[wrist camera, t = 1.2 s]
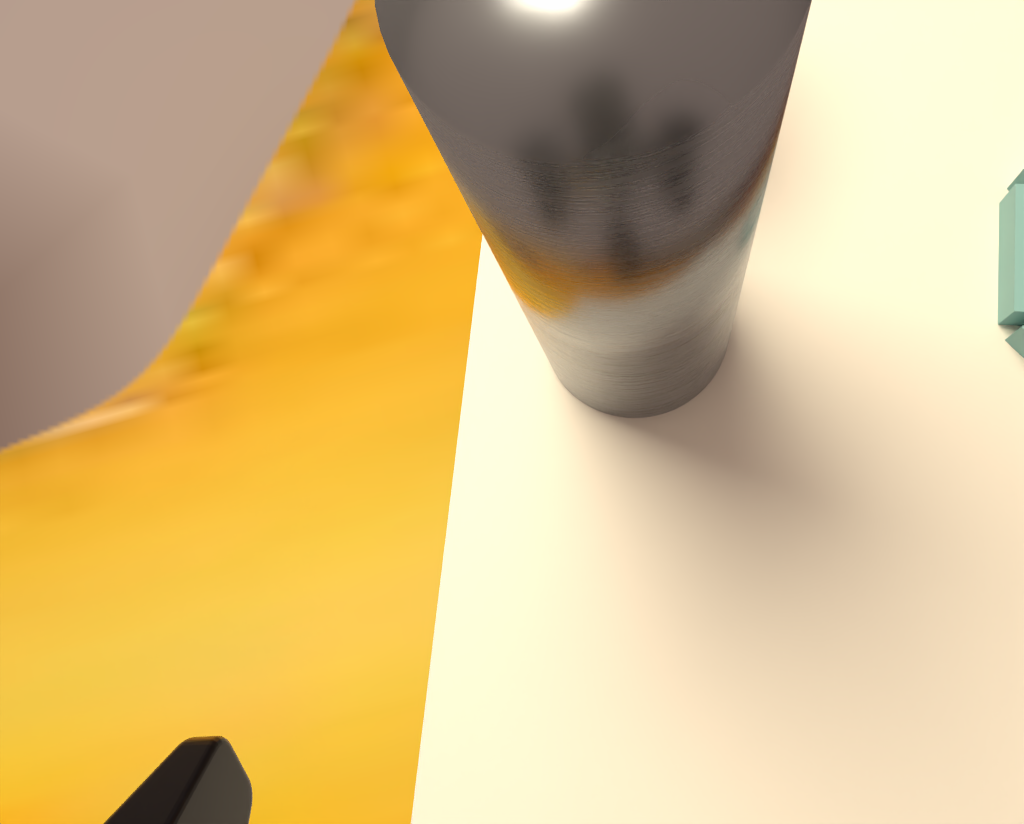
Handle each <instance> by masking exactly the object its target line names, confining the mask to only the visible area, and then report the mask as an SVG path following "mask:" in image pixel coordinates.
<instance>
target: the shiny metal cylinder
mask: <svg viewBox="0 0 1024 824" xmlns="http://www.w3.org/2000/svg"><path fill="white" fill-rule="evenodd" d="M811 2H812V0H375V8H376V12H377V17H378V22H379V27H380V31H381V34H382V36H383V39H384V42H385V44H386V47H387V50H388V53H389V55H390V57H391V59H392V61H393V62H394V64H395V66H396V68H397V70H398V72H399V74H400V76H401V78H402V80H403V82H404V84H405V86H406V87H407V89H408V91H409V93H410V95H411V97H412V99H413V101H414V103H415V105H416V107H417V109H418V111H419V112H420V114H421V116H422V118H423V120H424V122H425V124H426V126H427V128H428V130H429V132H430V134H431V136H432V138H433V139H434V141H435V143H436V145H437V147H438V149H439V151H440V153H441V155H442V157H443V159H444V161H445V163H446V164H447V166H448V168H449V170H450V172H451V174H452V176H453V178H454V180H455V182H456V184H457V186H458V188H459V189H460V191H461V193H462V195H463V197H464V199H465V201H466V203H467V205H468V207H469V209H470V211H471V213H472V214H473V216H474V218H475V220H476V222H477V224H478V226H479V228H480V230H481V232H482V234H483V236H484V238H485V239H486V241H487V243H488V245H489V247H490V249H491V251H492V253H493V255H494V257H495V259H496V261H497V263H498V264H499V266H500V268H501V270H502V272H503V274H504V276H505V278H506V280H507V282H508V284H509V286H510V288H511V289H512V291H513V293H514V295H515V297H516V299H517V301H518V303H519V305H520V307H521V309H522V311H523V313H524V314H525V316H526V318H527V320H528V322H529V324H530V326H531V328H532V330H533V332H534V334H535V336H536V338H537V340H538V341H539V343H540V345H541V347H542V349H543V351H544V353H545V355H546V357H547V359H548V361H549V363H550V365H551V366H552V368H553V370H554V372H555V374H556V376H557V377H558V379H559V380H560V381H561V383H562V384H563V385H564V387H565V388H566V389H567V390H568V391H569V392H570V393H571V394H572V395H573V396H575V397H576V398H577V399H579V400H580V401H581V402H583V403H584V404H586V405H588V406H589V407H591V408H593V409H595V410H598V411H600V412H603V413H606V414H609V415H613V416H618V417H625V418H643V417H652V416H656V415H660V414H664V413H667V412H669V411H672V410H675V409H677V408H679V407H680V406H682V405H684V404H686V403H688V402H689V401H690V400H692V399H693V398H694V397H696V396H697V395H698V394H699V393H700V392H701V391H702V390H703V389H705V388H706V386H707V385H708V384H709V383H710V381H711V380H712V379H713V378H714V376H715V375H716V373H717V371H718V370H719V368H720V366H721V364H722V361H723V359H724V357H725V354H726V350H727V347H728V343H729V339H730V335H731V330H732V326H733V322H734V318H735V314H736V310H737V306H738V302H739V298H740V293H741V289H742V285H743V281H744V277H745V273H746V269H747V265H748V261H749V257H750V252H751V248H752V244H753V240H754V236H755V232H756V228H757V224H758V220H759V215H760V211H761V207H762V203H763V199H764V195H765V191H766V187H767V183H768V179H769V174H770V170H771V166H772V162H773V158H774V154H775V150H776V146H777V142H778V137H779V133H780V129H781V125H782V121H783V117H784V113H785V109H786V105H787V101H788V96H789V92H790V88H791V84H792V80H793V76H794V72H795V68H796V64H797V59H798V55H799V51H800V47H801V43H802V39H803V35H804V31H805V27H806V22H807V18H808V14H809V10H810V6H811Z"/></svg>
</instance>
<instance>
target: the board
mask: <svg viewBox="0 0 1024 824" xmlns="http://www.w3.org/2000/svg"><path fill="white" fill-rule="evenodd" d="M411 824H1024V0H812V2H811V6H810V10H809V14H808V18H807V22H806V27H805V31H804V35H803V39H802V43H801V47H800V51H799V55H798V59H797V64H796V68H795V72H794V76H793V80H792V84H791V88H790V92H789V96H788V101H787V105H786V109H785V113H784V117H783V121H782V125H781V129H780V133H779V137H778V142H777V146H776V150H775V154H774V158H773V162H772V166H771V170H770V174H769V179H768V183H767V187H766V191H765V195H764V199H763V203H762V207H761V211H760V215H759V220H758V224H757V228H756V232H755V236H754V240H753V244H752V248H751V252H750V257H749V261H748V265H747V269H746V273H745V277H744V281H743V285H742V289H741V293H740V298H739V302H738V306H737V310H736V314H735V318H734V322H733V326H732V330H731V335H730V339H729V343H728V347H727V350H726V354H725V357H724V359H723V361H722V364H721V366H720V368H719V370H718V371H717V373H716V375H715V376H714V378H713V379H712V380H711V381H710V383H709V384H708V385H707V386H706V388H705V389H703V390H702V391H701V392H700V393H699V394H698V395H697V396H696V397H694V398H693V399H692V400H690V401H689V402H688V403H686V404H684V405H682V406H680V407H679V408H677V409H675V410H672V411H669V412H667V413H664V414H660V415H656V416H652V417H643V418H625V417H618V416H613V415H609V414H606V413H603V412H600V411H598V410H595V409H593V408H591V407H589V406H588V405H586V404H584V403H583V402H581V401H580V400H579V399H577V398H576V397H575V396H573V395H572V394H571V393H570V392H569V391H568V390H567V389H566V388H565V387H564V385H563V384H562V383H561V381H560V380H559V379H558V377H557V376H556V374H555V372H554V370H553V368H552V366H551V365H550V363H549V361H548V359H547V357H546V355H545V353H544V351H543V349H542V347H541V345H540V343H539V341H538V340H537V338H536V336H535V334H534V332H533V330H532V328H531V326H530V324H529V322H528V320H527V318H526V316H525V314H524V313H523V311H522V309H521V307H520V305H519V303H518V301H517V299H516V297H515V295H514V293H513V291H512V289H511V288H510V286H509V284H508V282H507V280H506V278H505V276H504V274H503V272H502V270H501V268H500V266H499V264H498V263H497V261H496V259H495V257H494V255H493V253H492V251H491V249H490V247H489V245H488V243H487V241H486V239H485V238H484V236H482V244H481V252H480V260H479V269H478V277H477V285H476V293H475V302H474V310H473V318H472V326H471V335H470V343H469V351H468V359H467V367H466V376H465V384H464V392H463V400H462V409H461V417H460V425H459V433H458V441H457V450H456V458H455V466H454V474H453V483H452V491H451V499H450V507H449V516H448V524H447V532H446V540H445V548H444V557H443V565H442V573H441V581H440V590H439V598H438V606H437V614H436V622H435V631H434V639H433V647H432V655H431V664H430V672H429V680H428V688H427V696H426V705H425V713H424V721H423V729H422V738H421V746H420V754H419V762H418V771H417V779H416V787H415V795H414V803H413V812H412V820H411Z"/></svg>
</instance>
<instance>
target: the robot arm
mask: <svg viewBox="0 0 1024 824" xmlns="http://www.w3.org/2000/svg"><path fill="white" fill-rule="evenodd" d="M251 806H252V787H251V783H250V780H249V778H248V776H247V774H246V772H245V770H244V768H243V767H242V765H241V763H240V761H239V759H238V757H237V755H236V753H235V751H234V750H233V748H232V746H231V744H230V742H229V741H228V740H227V739H225V738H224V737H222V736H208V737H193V738H189V739H187V740H185V741H183V742H182V743H181V744H179V745H178V746H177V747H176V748H175V749H174V750H173V752H172V753H171V754H170V755H169V756H168V757H167V758H166V759H165V760H164V761H163V762H162V763H161V764H160V765H159V766H158V767H157V768H156V769H155V770H154V771H153V772H152V774H151V775H150V776H149V777H148V778H147V779H146V780H145V781H144V782H143V783H142V784H141V785H140V786H139V787H138V788H137V789H136V790H135V791H134V792H133V793H132V794H131V795H130V797H129V798H128V799H127V800H126V801H125V802H124V803H123V804H122V805H121V806H120V807H119V808H118V809H117V810H116V811H115V812H114V813H113V814H112V815H111V816H110V817H109V818H108V820H107V821H106V822H105V823H104V824H249V818H250V812H251Z"/></svg>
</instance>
